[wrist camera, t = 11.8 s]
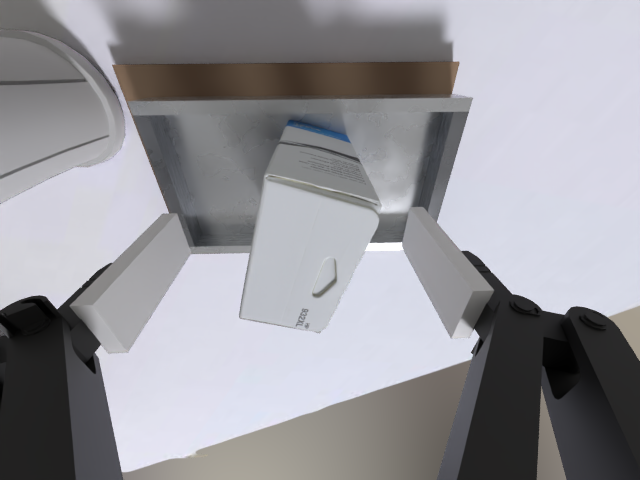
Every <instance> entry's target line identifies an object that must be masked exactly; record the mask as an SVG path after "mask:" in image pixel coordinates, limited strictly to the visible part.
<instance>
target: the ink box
mask: <svg viewBox="0 0 640 480" xmlns="http://www.w3.org/2000/svg"><path fill="white" fill-rule="evenodd" d="M381 208H382V205H381V202H380V200H379V198H378V196H377V194H376V192H375V190H374V187H373V185H372V183H371V181H370V179H369V177H368V175H367V173H366V171H365V169H364V167H363V165H362V164H361V162H360V160H359V158H358V156H357V154H356V152H355V150H354V148H353V146H352V144H351V142H350V140H349V138H348V136H347V135H344V134H341V133H337V132H334V131H331V130H327V129H324V128H320V127H317V126H313V125H309V124H306V123H302V122H298V121H294V120H288V122H287V125H286V127H285V129H284V131H283V134H282V136H281V139H280V141H279V143H278V145H277V147H276V150H275V152H274V154H273V156H272V158H271V161H270V163H269V165H268V167H267V170H266V172H265V174H264V179H263V185H262V190H261V195H260V201H259V206H258V211H257V217H256V222H255V228H254V233H253V239H252V244H251V250H250V255H249V261H248V266H247V272H246V277H245V283H244V288H243V294H242V300H241V306H240V313H239V318H240V319H244V320H251V321H256V322H261V323H266V324H273V325H278V326H283V327H289V328H294V329H300V330H306V331H312V332H316V333H321V331H322V330H324V329H326V328H327V326H328V325H329V322H330V320H331V318H332V316H333V315H334V313H335V311H336V309H337V307H338V304H339V301H340V299H341V297H342V295H343V293H344V292H345V290H346V289H347V287H348V285H349V283H350V281H351V279H352V276H353V273H354V271H355V269H356V267H357V266H358V264H359V262H360V261H361V259H362V257H363V255H364V253H365V251H366V249H367V247H368V245H369V242H370V240H371V238H372V236H373V234H374V233H375V231H376V229H377V227H378V224H379V216H378V214H379V212H380V210H381Z"/></svg>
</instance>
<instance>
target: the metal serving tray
mask: <svg viewBox="0 0 640 480" xmlns="http://www.w3.org/2000/svg"><path fill="white" fill-rule="evenodd" d="M472 99H473V98H472V97H466V96H461V95H455V94H394V95H300V96H206V97H150V98H144V99H139V100H133V101H127V102H128V105H129V107H130V110H131V112H132V115H133V118H134V120H135V123H136V125H137V128H138V131H139V133H140V136H141V138H142V141H143V144H144V146H145V149H146V151H147V154H148V157H149V159H150V162H151V164H152V167H153V170H154V172H155V175H156V177H157V180H158V183H159V185H160V188H161V190H162V193H163V196H164V198H165V201H166V203H167V206H168V209H169V211H170V213H177V215H178V218H179V221H180V223H181V226H182V229H183V232H184V234H185V237H186V240H187V243H188V245H189V248H190V251H191V254H220V253H250V250H251V244H252V239H253V233H254V228H255V222H256V217H257V211H258V206H259V201H260V195H261V190H262V185H263V179H264V174H265V172H266V170H267V167H268V165H269V163H270V161H271V158H272V156H273V154H274V152H275V150H276V147H277V145H278V143H279V141H280V139H281V136H282V134H283V131H284V129H285V127H286V125H287V122H288V120H294V121H298V122H302V123H306V124H309V125H313V126H317V127H320V128H324V129H327V130H331V131H334V132H337V133H341V134H344V135H347V136H348V138H349V140H350V142H351V144H352V146H353V148H354V150H355V152H356V154H357V156H358V158H359V160H360V162H361V164H362V165H363V167H364V169H365V171H366V173H367V175H368V177H369V179H370V181H371V183H372V185H373V187H374V190H375V192H376V194H377V196H378V198H379V200H380V202H381V205H382V208H381V210H380V212H379V214H378V216H379V224H378V227H377V229H376V231H375V233H374V234H373V236H372V238H371V240H370V242H369V245H368V247H367V249H366V251H369V250H403V248H402V242H403V237H404V233H405V228H406V223H407V218H408V214H409V209H410V207H424V209H425V210H426V211H427V212H428V213H429V214H430V216H431V217H432V218H433V219H434V220H435V221H436V223H437V219H438V216H439V212H440V209H441V206H442V202H443V199H444V195H445V192H446V188H447V185H448V181H449V178H450V175H451V171H452V168H453V164H454V161H455V157H456V154H457V151H458V147H459V144H460V140H461V137H462V133H463V130H464V127H465V123H466V120H467V116H468V113H469V109H470V106H471V102H472Z"/></svg>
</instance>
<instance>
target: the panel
mask: <svg viewBox="0 0 640 480" xmlns="http://www.w3.org/2000/svg"><path fill="white" fill-rule="evenodd" d="M112 66H113V69H114V71H115V74H116V76H117V79H118V82H119V84H120V87H121V89H122V92H123V95H124V97H125V100H126V102H127V101H133V100H139V99H144V98H150V97H206V96H300V95H394V94H452V91H453V87H454V82H455V78H456V74H457V70H458V66H459V62H369V63H255V64H140V65H112ZM127 105H128V102H127ZM128 108H129V110H130V107H129V105H128ZM130 113H131V115H132V112H131V110H130ZM132 118H133V115H132ZM133 120H134V118H133ZM134 123H135V120H134ZM135 126H136V128H137V125H136V123H135ZM137 131H138V128H137ZM138 133H139V131H138ZM139 136H140V133H139ZM140 139H141V141H142V138H141V136H140ZM142 144H143V141H142ZM143 146H144V144H143ZM144 149H145V146H144ZM145 151H146V149H145ZM146 154H147V151H146ZM147 157H148V154H147ZM148 159H149V157H148ZM149 162H150V159H149ZM150 164H151V162H150ZM151 167H152V164H151ZM152 170H153V167H152ZM153 172H154V170H153ZM154 175H155V172H154ZM155 177H156V175H155ZM156 180H157V177H156ZM157 183H158V180H157ZM158 185H159V183H158ZM159 188H160V185H159ZM160 190H161V188H160ZM161 193H162V190H161ZM162 195H163V193H162ZM163 198H164V196H163ZM164 201H165V198H164ZM165 203H166V201H165ZM166 206H167V203H166ZM167 208H168V206H167ZM168 211H169V209H168ZM169 214H170V211H169Z"/></svg>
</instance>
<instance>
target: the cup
mask: <svg viewBox="0 0 640 480" xmlns="http://www.w3.org/2000/svg"><path fill="white" fill-rule="evenodd" d="M124 138H125V119H124V115H123V112H122V110H121V107H120V104H119V101H118V99H117V97H116V95H115V93H114V92H113V90H112V89H111V87H110V86H109V84H108V83H107V81H106V80H105V78H104V77H103V75H102V74H101V73H100V72H99V71H98V70H97V69H96V68H95V67H94V66H93V65H92V64H91V63H90V62H89V61H88V60H87V59H86V58H85V57H84V56H82V55H81V54H79V53H78V52H76V51H75V50H73V49H72V48H70V47H69V46H67V45H66V44H64V43H63V42H61V41H59V40H56V39H54V38H51V37H48V36H46V35H43V34H40V33H38V32H31V31H23V30H5V29H0V204H1V203H3V202H5V201H6V200H8V199H10V198H12V197H14V196H16V195H18V194H20V193H22V192H24V191H26V190H28V189H30V188H32V187H34V186H36V185H38V184H40V183H42V182H43V181H45V180H47V179H50V178H52V177H54V176H56V175H58V174H61V173H63V172H65V171H67V170H70V169H72V168H74V167H90V166H93V165H96V164H99V163H102V162H104V161H107V160H109V159H111V158H112V157H113V156H114V155H115V154H116V153H117V152H118V151H119V150H120V149H121V147H122V144H123V141H124Z"/></svg>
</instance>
